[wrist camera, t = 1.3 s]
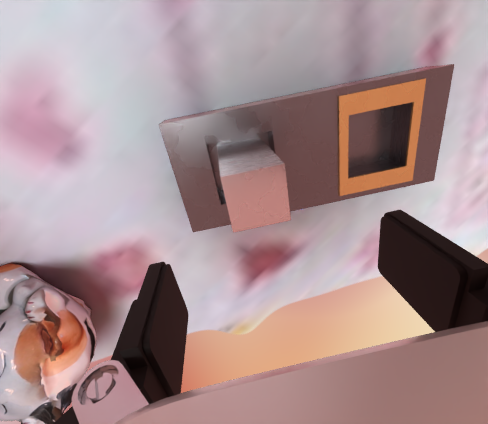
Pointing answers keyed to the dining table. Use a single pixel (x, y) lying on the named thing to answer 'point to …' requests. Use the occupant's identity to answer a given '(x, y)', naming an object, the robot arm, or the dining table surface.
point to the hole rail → (319, 141)
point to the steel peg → (253, 184)
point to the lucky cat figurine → (40, 347)
